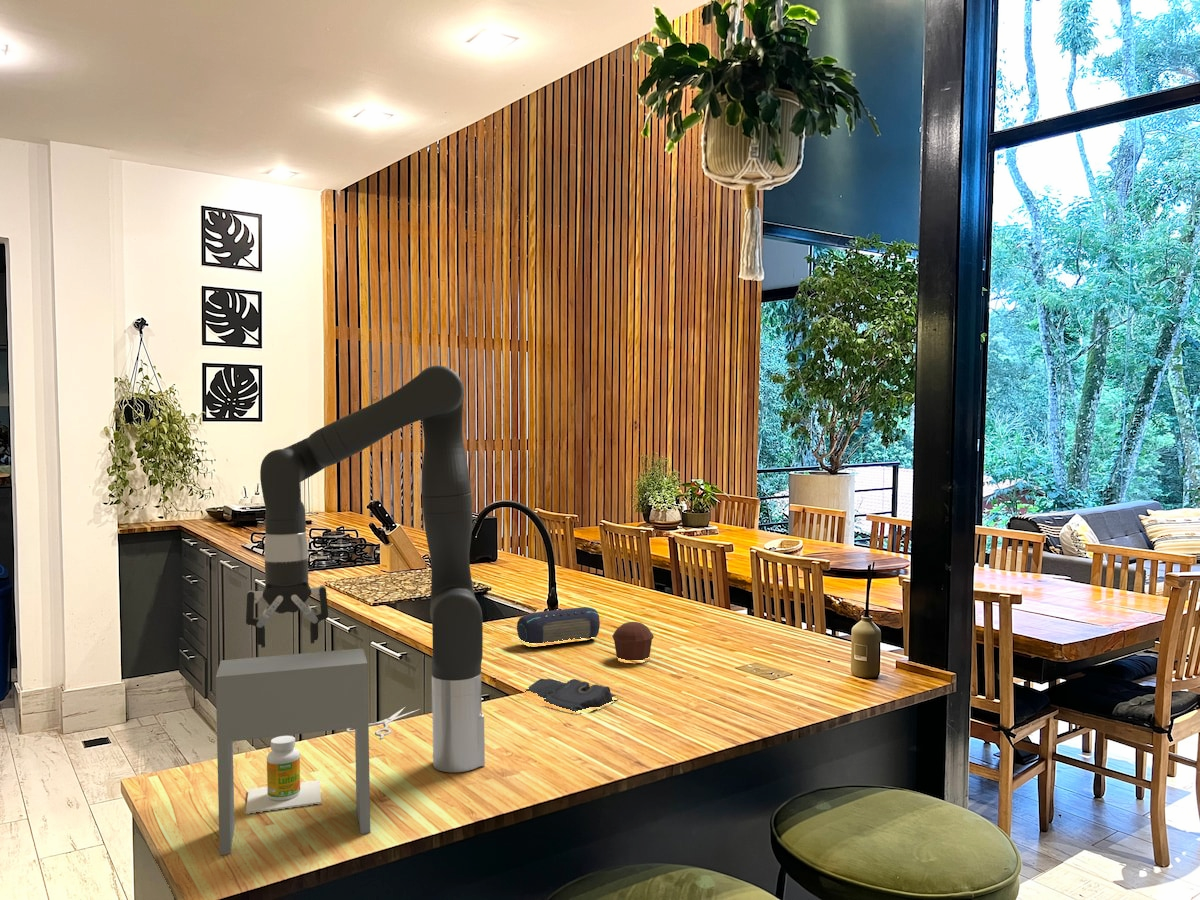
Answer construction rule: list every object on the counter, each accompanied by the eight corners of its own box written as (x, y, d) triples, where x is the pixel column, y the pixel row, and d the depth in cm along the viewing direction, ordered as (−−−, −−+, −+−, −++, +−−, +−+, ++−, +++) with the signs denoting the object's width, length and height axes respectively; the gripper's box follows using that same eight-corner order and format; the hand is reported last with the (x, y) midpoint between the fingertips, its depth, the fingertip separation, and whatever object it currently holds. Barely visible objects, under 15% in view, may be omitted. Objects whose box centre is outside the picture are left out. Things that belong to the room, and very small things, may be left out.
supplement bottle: (277, 804, 152) (276, 747, 152) (261, 795, 156) (260, 740, 156) (306, 794, 156) (305, 738, 156) (290, 786, 160) (289, 731, 160)
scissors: (339, 732, 189) (393, 703, 207) (339, 735, 189) (393, 706, 207) (382, 738, 185) (433, 708, 203) (382, 741, 185) (433, 711, 203)
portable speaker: (527, 653, 254) (526, 617, 254) (514, 645, 263) (513, 611, 263) (606, 642, 266) (605, 608, 265) (591, 635, 274) (590, 602, 274)
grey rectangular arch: (365, 804, 153) (362, 646, 152) (370, 832, 142) (367, 663, 141) (225, 824, 146) (221, 658, 145) (219, 855, 135) (215, 676, 134)
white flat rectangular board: (319, 782, 163) (319, 779, 163) (321, 804, 153) (321, 801, 153) (248, 791, 159) (248, 789, 159) (245, 814, 149) (245, 812, 149)
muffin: (646, 667, 238) (646, 629, 238) (606, 663, 241) (606, 626, 241) (658, 655, 249) (658, 619, 249) (620, 653, 253) (619, 617, 252)
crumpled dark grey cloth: (553, 685, 223) (553, 666, 223) (624, 702, 209) (624, 682, 209) (510, 701, 211) (509, 681, 211) (582, 719, 198) (582, 698, 197)
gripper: (243, 562, 160) (245, 653, 160) (327, 557, 164) (329, 646, 165) (245, 556, 167) (247, 643, 167) (326, 552, 172) (327, 637, 172)
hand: (288, 644), depth 166 cm, fingers open, 8 cm apart
